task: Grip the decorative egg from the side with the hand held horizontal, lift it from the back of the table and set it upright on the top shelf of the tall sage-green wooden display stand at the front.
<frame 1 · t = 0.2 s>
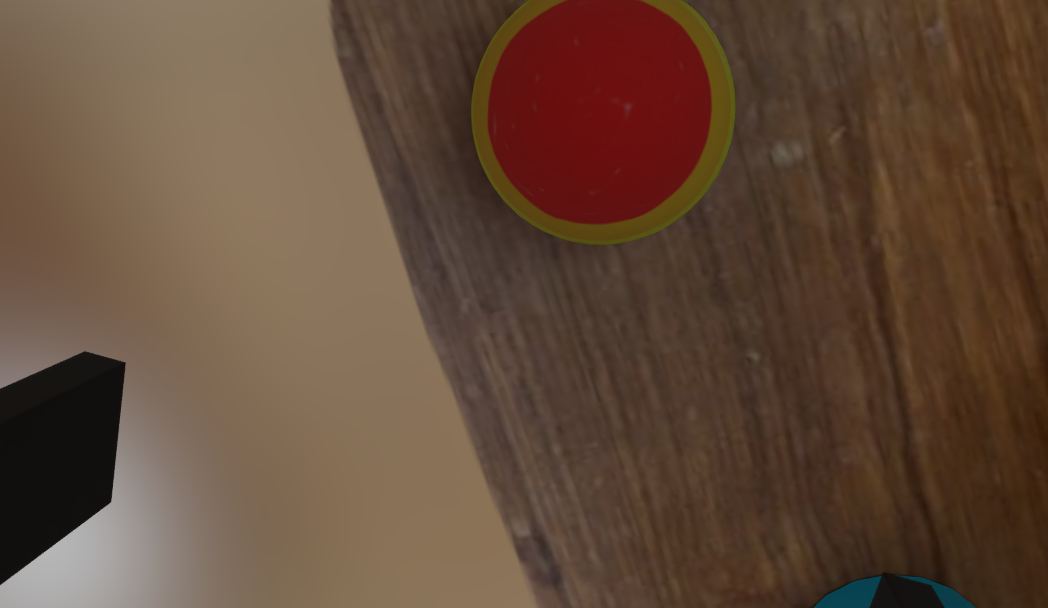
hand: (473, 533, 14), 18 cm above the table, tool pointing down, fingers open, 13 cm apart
decorative egg: (604, 114, 30), on the table
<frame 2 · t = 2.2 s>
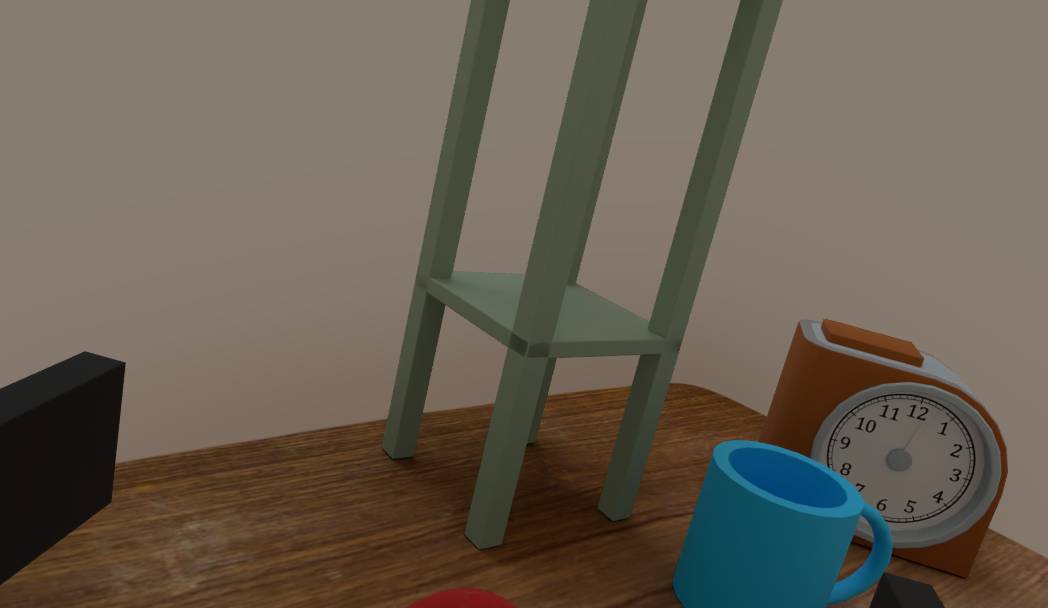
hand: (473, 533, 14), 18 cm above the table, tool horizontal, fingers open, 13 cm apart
alarm clock: (847, 520, 61), on the table
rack: (504, 482, 54), on the table
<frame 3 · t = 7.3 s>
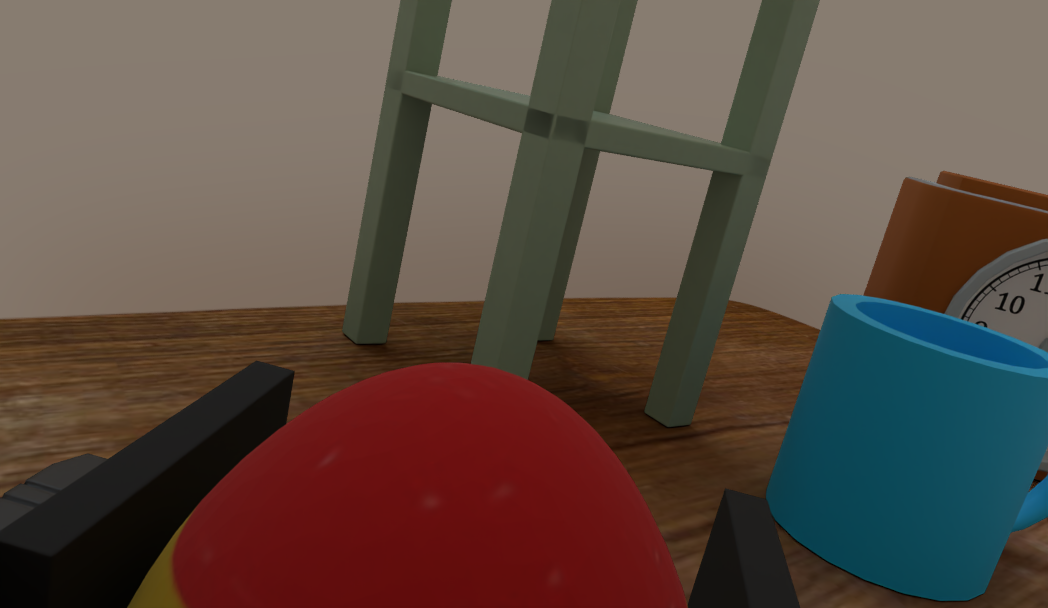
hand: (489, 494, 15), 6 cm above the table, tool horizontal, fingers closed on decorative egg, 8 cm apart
alarm clock: (971, 443, 46), on the table
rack: (513, 377, 39), on the table
mug: (913, 542, 32), on the table
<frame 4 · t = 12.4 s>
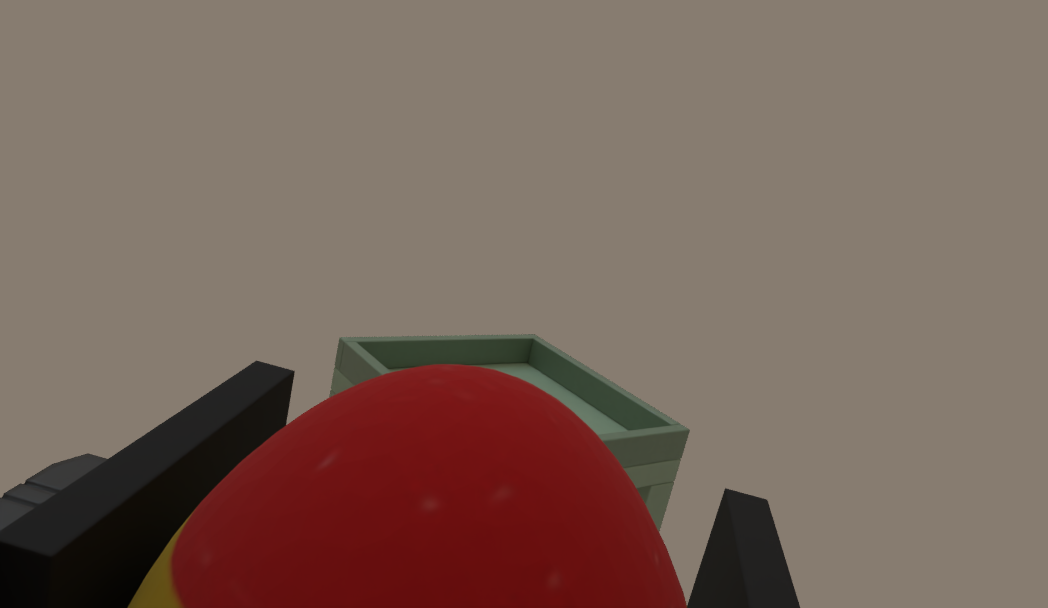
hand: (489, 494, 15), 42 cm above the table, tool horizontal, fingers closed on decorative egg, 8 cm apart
when the fingers open (41 cm above the table, at t = 17.7 s): decorative egg stays where it is, resting on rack.
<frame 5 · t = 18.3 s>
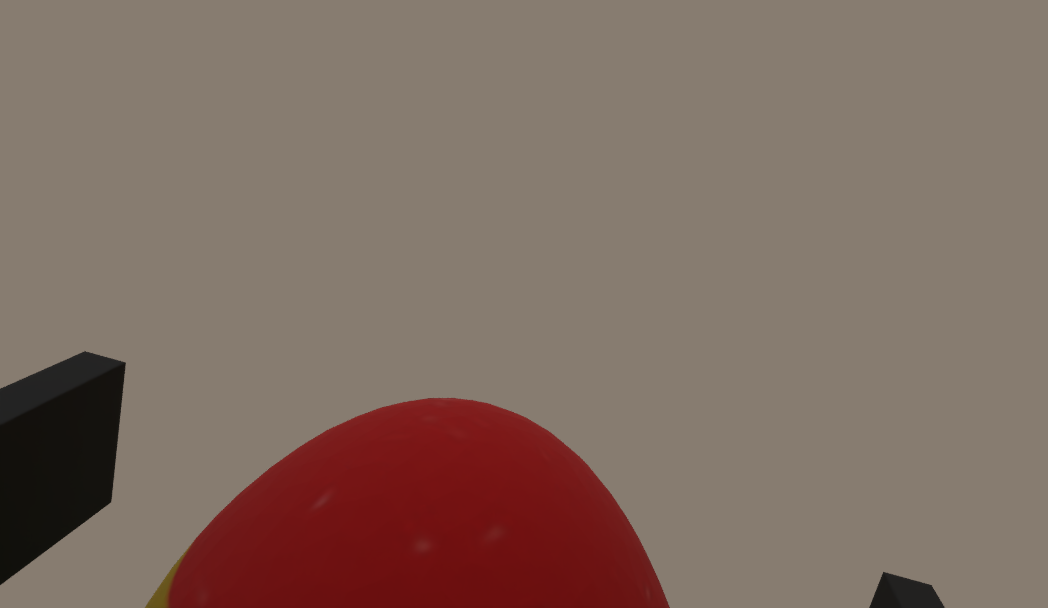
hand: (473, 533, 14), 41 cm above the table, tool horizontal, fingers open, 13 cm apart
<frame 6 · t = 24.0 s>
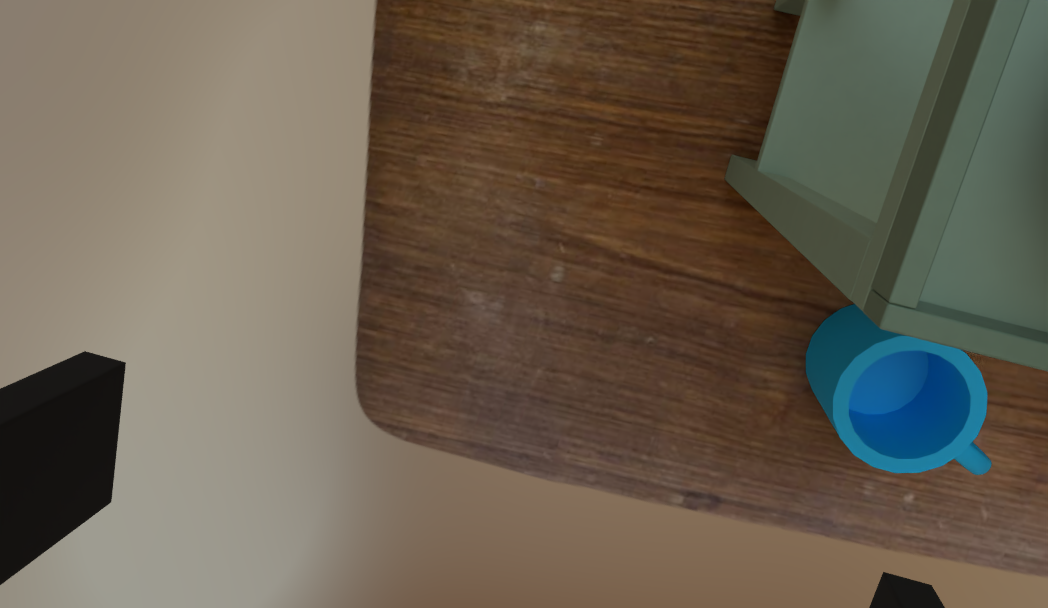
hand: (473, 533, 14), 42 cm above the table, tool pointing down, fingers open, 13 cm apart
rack: (849, 106, 50), on the table
mug: (890, 379, 54), on the table
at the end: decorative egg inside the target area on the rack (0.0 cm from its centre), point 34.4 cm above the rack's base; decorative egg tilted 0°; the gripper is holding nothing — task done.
